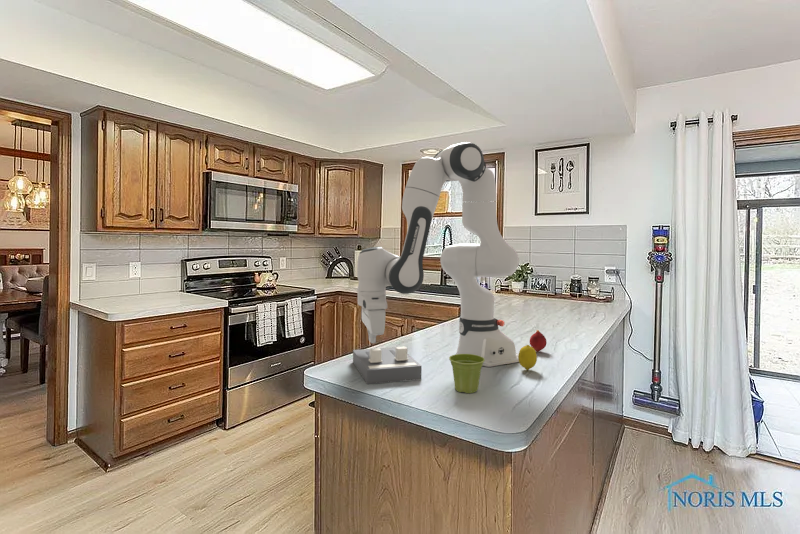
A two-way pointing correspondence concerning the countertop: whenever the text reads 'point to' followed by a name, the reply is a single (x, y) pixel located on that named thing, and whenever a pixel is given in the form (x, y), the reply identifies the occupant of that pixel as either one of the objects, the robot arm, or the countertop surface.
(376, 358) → the block
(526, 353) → the lemon
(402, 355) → the block
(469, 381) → the plant pot
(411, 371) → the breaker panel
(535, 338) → the onion
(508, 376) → the countertop surface
